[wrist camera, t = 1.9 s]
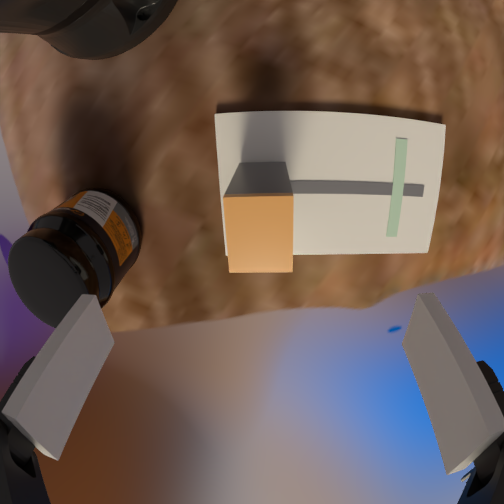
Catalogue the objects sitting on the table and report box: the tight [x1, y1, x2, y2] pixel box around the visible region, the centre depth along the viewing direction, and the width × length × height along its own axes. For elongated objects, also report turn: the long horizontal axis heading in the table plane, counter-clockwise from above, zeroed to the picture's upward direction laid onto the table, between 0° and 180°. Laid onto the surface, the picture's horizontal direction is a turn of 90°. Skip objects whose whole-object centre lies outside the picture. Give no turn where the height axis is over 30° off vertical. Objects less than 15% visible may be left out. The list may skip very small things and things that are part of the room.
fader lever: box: [223, 162, 294, 273], centre depth 23 cm, size 5×4×10 cm
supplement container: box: [8, 188, 142, 328], centre depth 26 cm, size 10×10×12 cm
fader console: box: [215, 111, 446, 256], centre depth 27 cm, size 14×22×1 cm, turn 93°
